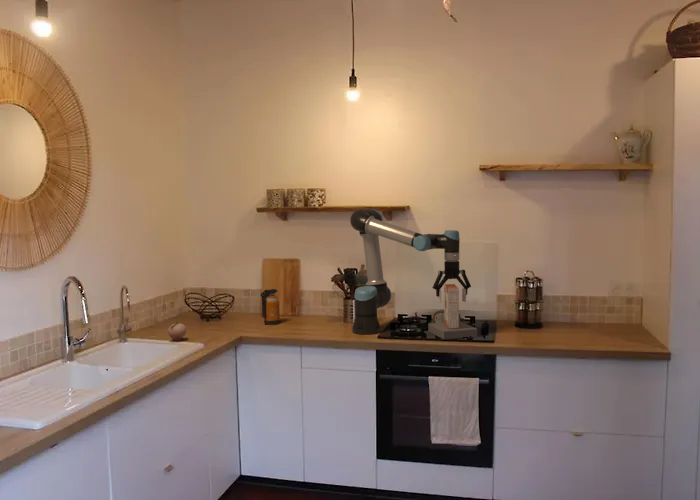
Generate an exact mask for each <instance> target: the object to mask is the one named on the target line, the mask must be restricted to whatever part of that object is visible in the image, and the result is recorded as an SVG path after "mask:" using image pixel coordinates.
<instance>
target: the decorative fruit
mask: <svg viewBox="0 0 700 500" xmlns="http://www.w3.org/2000/svg"><path fill="white" fill-rule="evenodd" d="M175 322H176V323H172V324H171V325H170V326H169V327H168V329H167V333H168V336H169V337H170V338H171V339H172V340H174V341H176V340H178V341H180V340H181V339H182V338H184V337H185V336H186V334H187V327H186V326H185V325H184V324H183V323H182V322H178V321H175Z"/></svg>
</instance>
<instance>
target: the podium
mask: <svg viewBox="0 0 700 500" xmlns="http://www.w3.org/2000/svg"><path fill="white" fill-rule="evenodd" d="M427 329H428V332H429V333H431V334H433V335H434V336H436V337H439V338H440V339H442V340H453V339H454V340H455V339H464V338H463V337H468V338H477V337H478V328H476V327H474V326H472V325H470V324H467V323H465V322H462V321H461V320H460V321H459V329H448V328H447V326H446V324H445V322H444V323H435V322H434V323H428V328H427ZM470 336H471V337H470Z"/></svg>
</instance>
